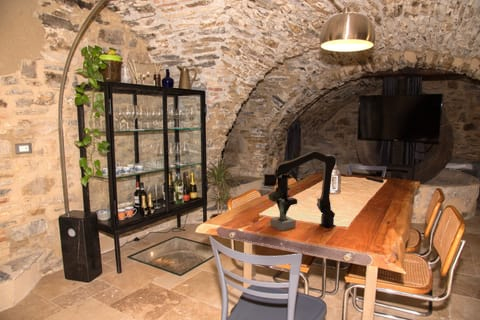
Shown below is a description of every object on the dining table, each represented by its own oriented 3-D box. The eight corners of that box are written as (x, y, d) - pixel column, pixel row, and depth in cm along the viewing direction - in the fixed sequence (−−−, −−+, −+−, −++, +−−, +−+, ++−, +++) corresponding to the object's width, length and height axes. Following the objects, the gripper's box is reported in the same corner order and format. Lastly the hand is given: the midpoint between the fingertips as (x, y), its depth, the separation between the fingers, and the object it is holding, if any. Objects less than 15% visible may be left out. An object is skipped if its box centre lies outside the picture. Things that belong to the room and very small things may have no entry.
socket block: (295, 227, 176) (295, 220, 176) (280, 230, 172) (280, 223, 171) (284, 222, 185) (284, 215, 185) (270, 225, 181) (270, 218, 180)
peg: (287, 219, 177) (287, 201, 176) (282, 220, 175) (282, 202, 174) (283, 217, 180) (283, 200, 179) (278, 218, 179) (278, 201, 177)
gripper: (261, 184, 179) (261, 211, 182) (280, 191, 163) (280, 221, 165) (277, 182, 185) (277, 208, 187) (298, 188, 168) (298, 217, 171)
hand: (282, 213), depth 177 cm, fingers closed on peg, 4 cm apart
